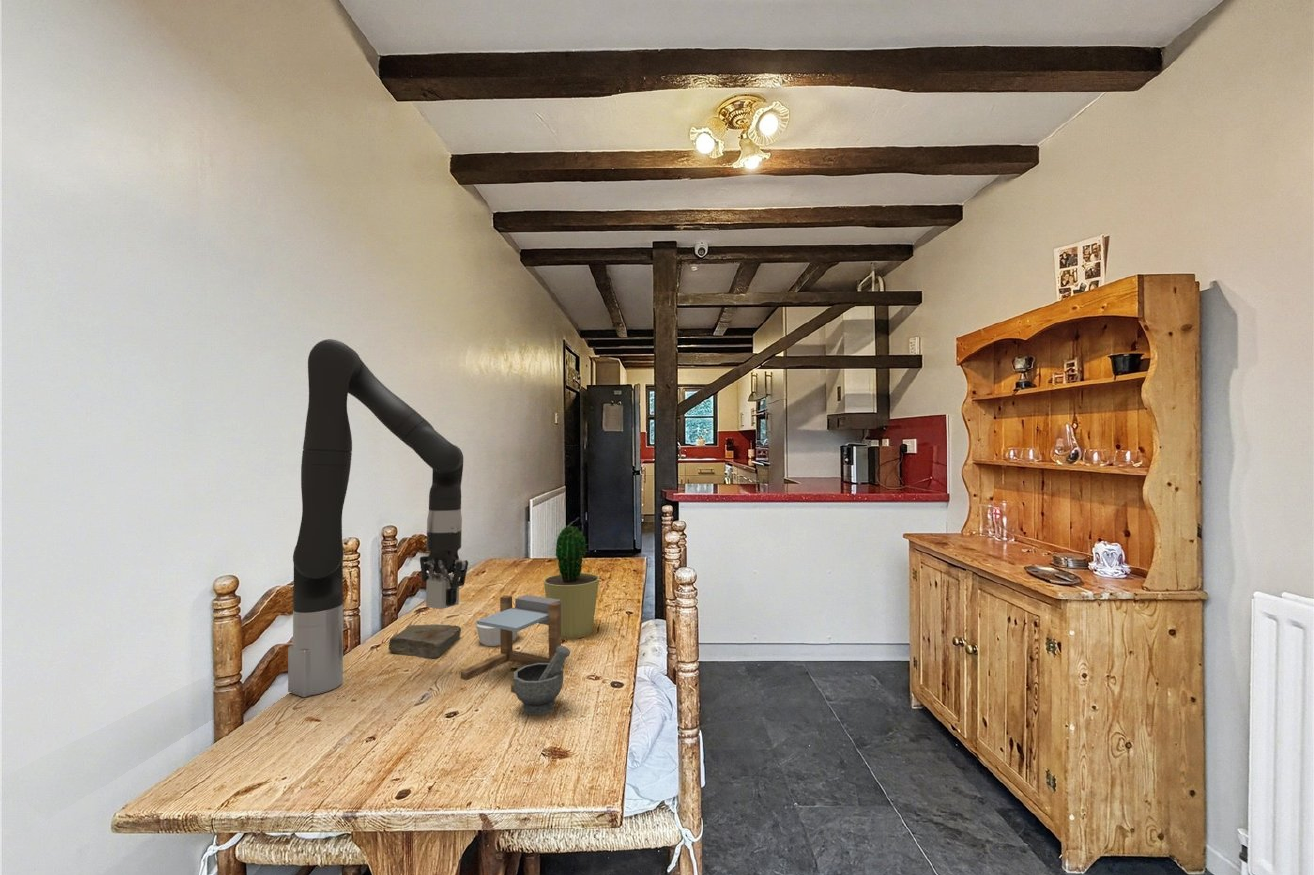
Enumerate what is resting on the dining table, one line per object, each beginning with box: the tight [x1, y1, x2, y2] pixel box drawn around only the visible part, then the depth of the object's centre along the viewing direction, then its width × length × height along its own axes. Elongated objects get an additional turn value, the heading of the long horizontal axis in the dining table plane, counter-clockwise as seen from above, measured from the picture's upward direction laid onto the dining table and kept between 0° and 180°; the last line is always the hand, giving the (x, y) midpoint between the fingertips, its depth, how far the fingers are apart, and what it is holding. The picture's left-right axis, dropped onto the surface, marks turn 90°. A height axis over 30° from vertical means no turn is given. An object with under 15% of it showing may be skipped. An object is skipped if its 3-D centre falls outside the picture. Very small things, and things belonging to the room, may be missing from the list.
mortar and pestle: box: [513, 644, 571, 716], centre depth 105 cm, size 11×9×12 cm
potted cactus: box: [543, 525, 600, 640], centre depth 150 cm, size 15×15×30 cm
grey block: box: [425, 576, 460, 610], centre depth 124 cm, size 5×5×6 cm
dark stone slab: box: [388, 623, 462, 659], centre depth 140 cm, size 17×15×4 cm
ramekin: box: [475, 623, 519, 647], centre depth 144 cm, size 11×11×5 cm
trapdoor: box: [476, 594, 562, 633], centre depth 125 cm, size 16×12×5 cm
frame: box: [460, 594, 565, 693], centre depth 122 cm, size 15×17×15 cm
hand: (442, 603), depth 124 cm, fingers closed on grey block, 5 cm apart
